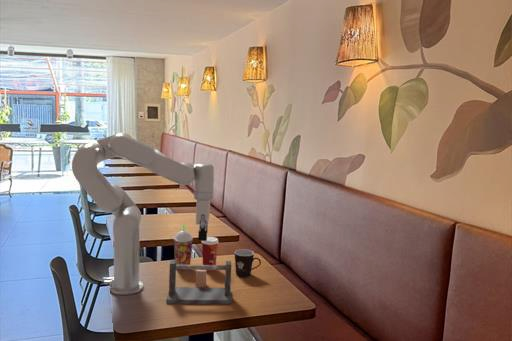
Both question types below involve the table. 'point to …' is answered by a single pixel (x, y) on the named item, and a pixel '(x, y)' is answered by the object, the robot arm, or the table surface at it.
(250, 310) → the table surface
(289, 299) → the table surface
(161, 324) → the table surface
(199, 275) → the open topped box
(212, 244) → the paper cup
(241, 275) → the coffee mug
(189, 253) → the smoothie
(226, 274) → the rack
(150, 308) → the table surface
